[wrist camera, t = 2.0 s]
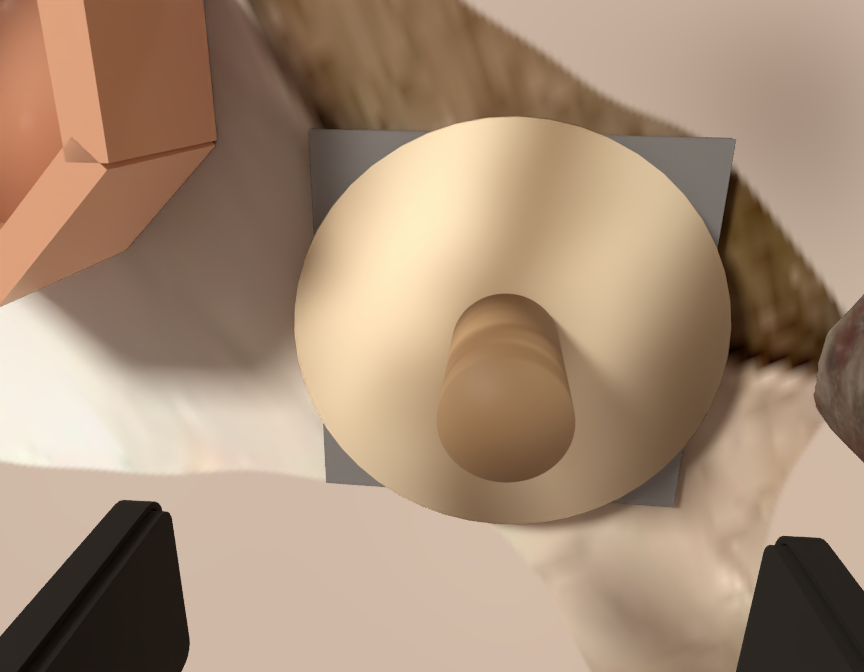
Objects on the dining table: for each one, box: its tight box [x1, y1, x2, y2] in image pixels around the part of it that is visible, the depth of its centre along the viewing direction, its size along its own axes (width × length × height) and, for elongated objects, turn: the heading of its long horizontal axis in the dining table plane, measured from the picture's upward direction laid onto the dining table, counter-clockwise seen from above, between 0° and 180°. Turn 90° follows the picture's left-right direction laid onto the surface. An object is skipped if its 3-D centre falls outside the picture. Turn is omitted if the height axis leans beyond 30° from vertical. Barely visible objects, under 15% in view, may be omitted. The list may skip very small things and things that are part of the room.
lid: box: [294, 116, 731, 524], centre depth 18 cm, size 13×13×6 cm
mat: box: [309, 129, 736, 507], centre depth 21 cm, size 12×12×1 cm
